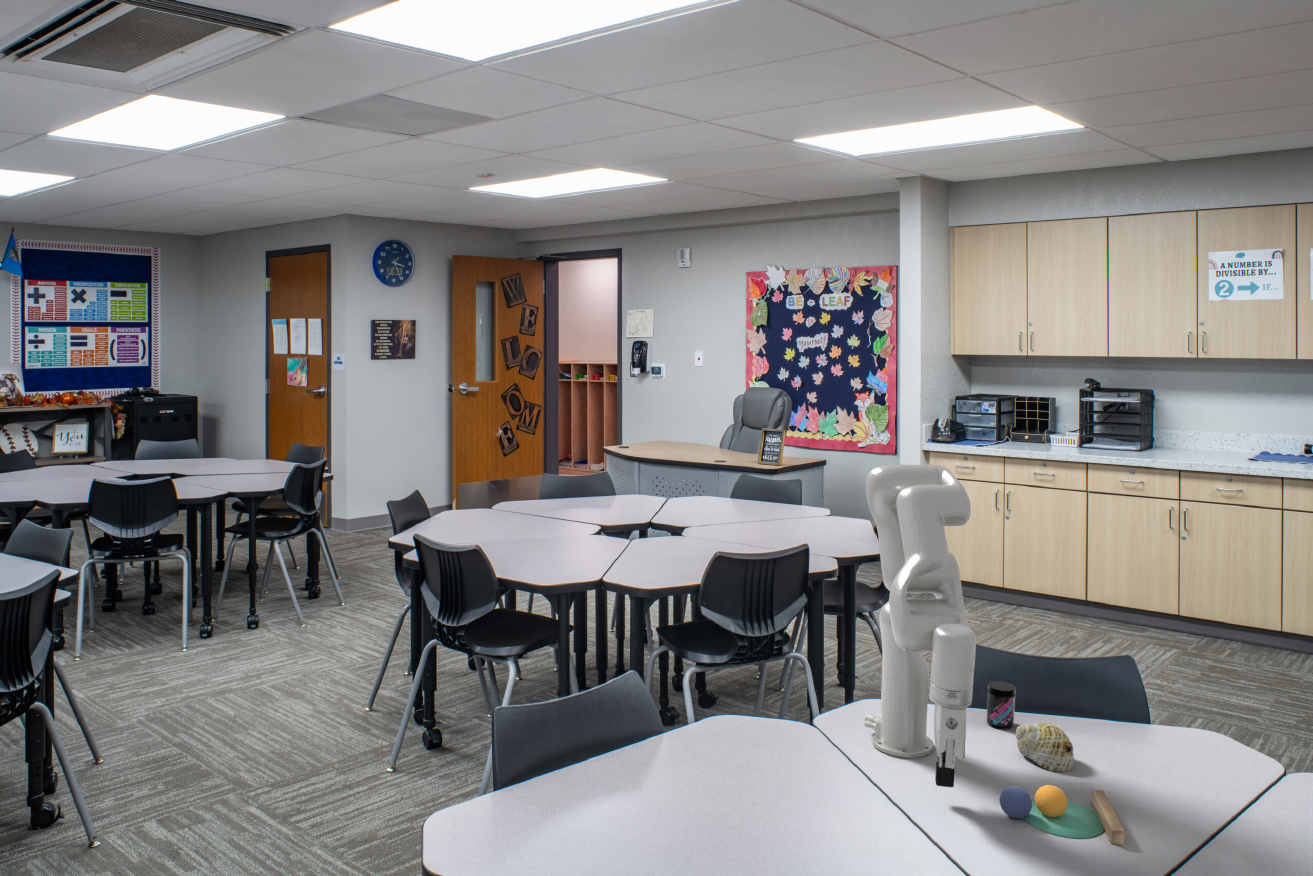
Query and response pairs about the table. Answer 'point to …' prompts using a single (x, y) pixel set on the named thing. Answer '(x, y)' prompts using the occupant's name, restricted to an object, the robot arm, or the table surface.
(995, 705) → the supplement container
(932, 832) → the table surface
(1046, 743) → the seashell
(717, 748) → the table surface
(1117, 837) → the wall
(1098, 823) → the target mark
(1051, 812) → the orange ball
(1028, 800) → the slate blue ball
